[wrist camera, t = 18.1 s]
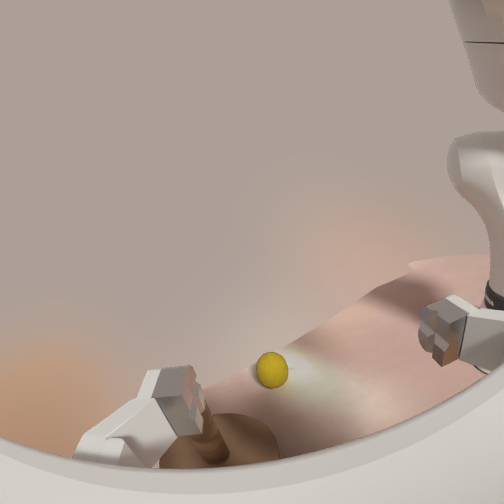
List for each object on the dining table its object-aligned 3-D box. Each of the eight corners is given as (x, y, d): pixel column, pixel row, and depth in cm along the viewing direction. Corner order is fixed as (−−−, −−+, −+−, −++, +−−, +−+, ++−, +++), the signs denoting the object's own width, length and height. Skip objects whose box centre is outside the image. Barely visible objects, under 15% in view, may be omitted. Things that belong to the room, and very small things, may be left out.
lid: (220, 404, 40) (198, 344, 37) (304, 444, 29) (293, 382, 26) (142, 459, 29) (101, 403, 26) (216, 528, 18) (171, 486, 15)
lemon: (256, 384, 49) (247, 351, 47) (282, 373, 51) (276, 340, 49) (268, 401, 44) (259, 367, 42) (296, 388, 46) (290, 354, 44)
